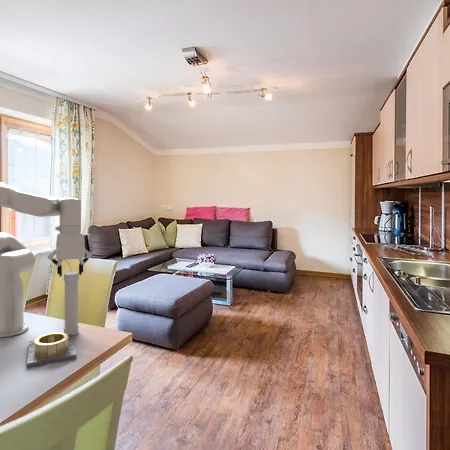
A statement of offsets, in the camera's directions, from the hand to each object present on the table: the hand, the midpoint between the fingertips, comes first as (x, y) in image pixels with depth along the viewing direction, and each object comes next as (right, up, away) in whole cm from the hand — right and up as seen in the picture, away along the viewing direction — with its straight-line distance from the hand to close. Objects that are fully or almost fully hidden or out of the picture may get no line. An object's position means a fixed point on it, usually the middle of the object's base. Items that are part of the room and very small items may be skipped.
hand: (70, 274), depth 125 cm
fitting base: (0, -25, -14) cm, 28 cm away
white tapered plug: (-1, -24, +2) cm, 24 cm away
